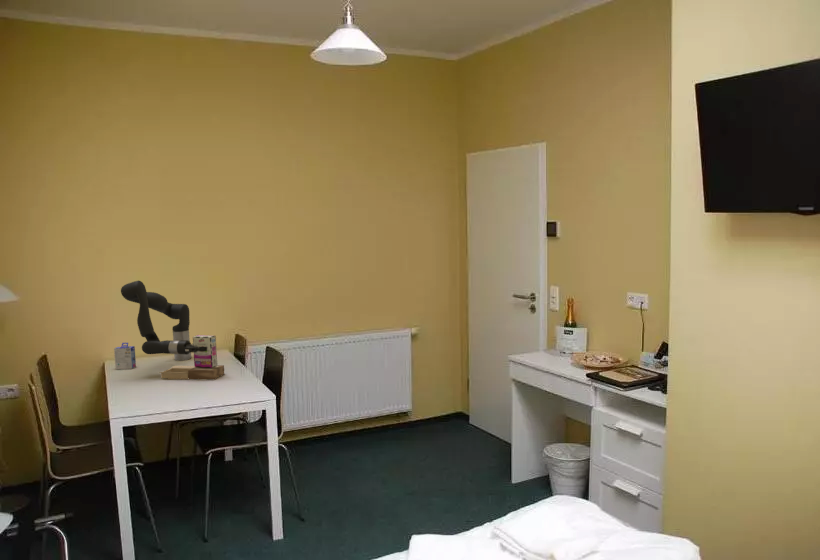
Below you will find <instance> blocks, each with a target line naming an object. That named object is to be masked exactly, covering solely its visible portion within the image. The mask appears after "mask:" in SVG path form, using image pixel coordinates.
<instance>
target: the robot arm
mask: <svg viewBox="0 0 820 560" xmlns="http://www.w3.org/2000/svg"><path fill="white" fill-rule="evenodd" d="M120 293H121V296H122V297H123V298H124V299H125V300H127V301H128V302H132V303H136V304H138V305H139V308H138V315H137V319H136V321H137V323H136V324H137V327H138V331H139V333H140V336H141V337H142V338H145V340H146V341H145V342H143V343H142V345H141V350H142V352H143V353H145V354H147V355H159V354H167V355H168V354H169V355H170V354H171V355H174V361H187V360H190V359H191V358H192V353H194V352H199V351H207V347H199V346H197V345H193V342H192V343H191V340H190V320H191V319H190V307H189V306H188V305H187V304H186V303H171V302H168V299H167V298H166V297H165V296H164V295H162V294H160V293H157V292H154V291H153V292H152V291H147V288H146V285H145V284H144V283H143V281H141V280H135V281H131V282H128V283H126V284H124V285H123V286H121V288H120ZM150 309H151V310H153V311H156V312H158V313H160V314H163V315H165V316H167V317H168V318H170V319H172V320H178V323H177V324H176V325H173V326H172V340H168V339H167V340H160V338H159V337H158V335H157V333H156V331H155V330H154V325H153V323H152V318H151V315H150Z"/></svg>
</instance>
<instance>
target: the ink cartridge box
mask: <svg viewBox="0 0 820 560" xmlns="http://www.w3.org/2000/svg"><path fill="white" fill-rule="evenodd" d="M135 348H136V347H135V345H132V346H130V345H129V342H122V343H121V346H117V347H114V349H113V351H114V354H113V355H114V364H115V365H114V367H115V370H132V368H133V369H134V367H135V368H136V367H137V361H136V349H135Z"/></svg>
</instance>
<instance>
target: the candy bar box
mask: <svg viewBox="0 0 820 560" xmlns="http://www.w3.org/2000/svg"><path fill="white" fill-rule="evenodd" d="M192 343H193V345H197V346H199V347H207V351H199V352H193V360H194V361H193V364H194V365H193V366H195V367H206V368H213V367H216V366H217V365H218V357H217V354H218V353H217V337H216V335H209V334H207V335H205V334H200V335H199V334H197V335H194V336H192Z"/></svg>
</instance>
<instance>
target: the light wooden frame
mask: <svg viewBox="0 0 820 560" xmlns="http://www.w3.org/2000/svg"><path fill="white" fill-rule="evenodd" d="M194 367H195V366H194V365H172V366H171V367H170V368H169V369H166V370H164V371H159V373H160V374H161V376H160V377H161V379H162V378H168V380H171V379H174V380H176V379H177V380H189V379H188V378H189V374H188V370H190V369H192V368H194Z"/></svg>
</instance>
